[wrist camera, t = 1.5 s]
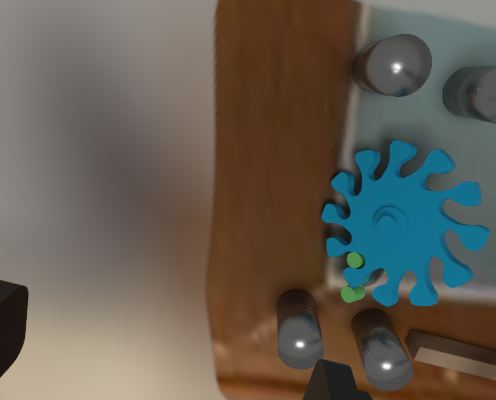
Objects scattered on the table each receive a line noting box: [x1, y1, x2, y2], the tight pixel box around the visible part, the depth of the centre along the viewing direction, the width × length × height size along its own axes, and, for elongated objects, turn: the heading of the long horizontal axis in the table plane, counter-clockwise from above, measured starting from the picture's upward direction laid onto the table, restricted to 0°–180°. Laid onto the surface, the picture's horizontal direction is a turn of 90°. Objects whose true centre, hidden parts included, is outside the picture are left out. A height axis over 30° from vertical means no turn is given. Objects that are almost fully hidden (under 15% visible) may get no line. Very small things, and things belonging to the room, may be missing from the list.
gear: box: [322, 140, 491, 307], centre depth 25 cm, size 11×6×10 cm
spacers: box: [277, 34, 496, 391], centre depth 25 cm, size 9×21×5 cm, turn 166°
